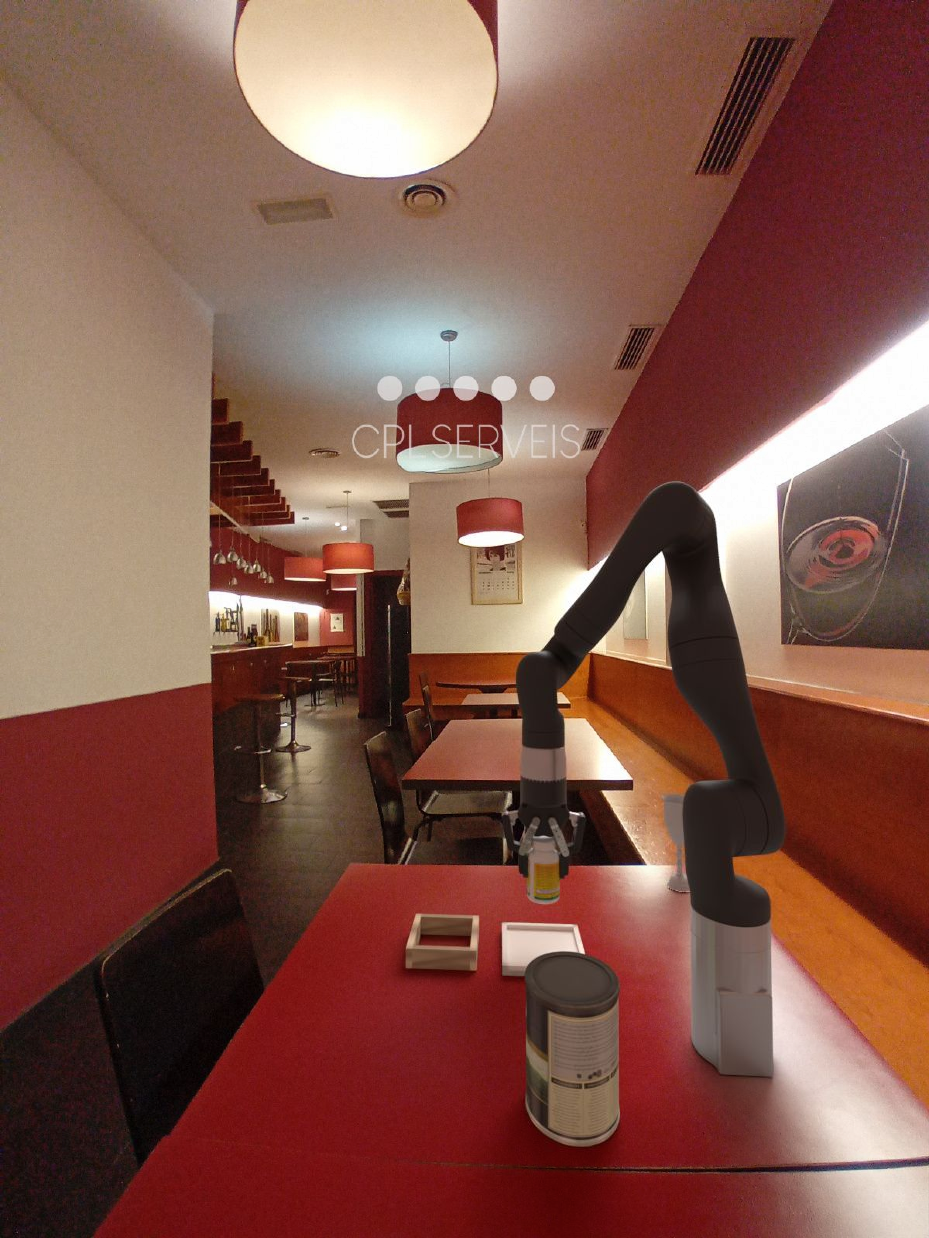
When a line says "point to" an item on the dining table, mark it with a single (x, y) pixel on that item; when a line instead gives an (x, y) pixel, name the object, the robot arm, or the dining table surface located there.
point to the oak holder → (443, 954)
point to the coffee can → (572, 1047)
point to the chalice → (676, 837)
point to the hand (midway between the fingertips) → (543, 876)
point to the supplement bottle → (543, 871)
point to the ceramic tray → (535, 943)
